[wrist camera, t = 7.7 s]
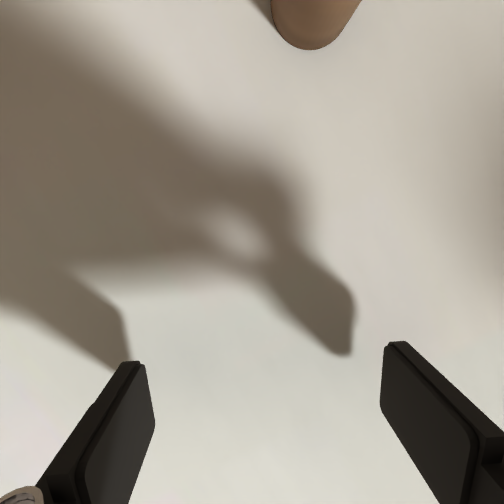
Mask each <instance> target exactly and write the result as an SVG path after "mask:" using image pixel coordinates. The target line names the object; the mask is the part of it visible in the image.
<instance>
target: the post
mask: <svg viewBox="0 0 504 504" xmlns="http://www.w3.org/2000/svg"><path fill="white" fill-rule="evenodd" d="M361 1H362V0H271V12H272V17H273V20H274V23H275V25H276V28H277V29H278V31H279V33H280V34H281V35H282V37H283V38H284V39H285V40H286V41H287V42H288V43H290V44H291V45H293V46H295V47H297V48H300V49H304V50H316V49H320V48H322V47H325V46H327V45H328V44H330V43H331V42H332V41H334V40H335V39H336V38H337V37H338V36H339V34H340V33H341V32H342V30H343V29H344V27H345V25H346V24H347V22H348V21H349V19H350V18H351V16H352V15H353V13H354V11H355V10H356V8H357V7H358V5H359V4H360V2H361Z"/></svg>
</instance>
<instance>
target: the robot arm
mask: <svg viewBox="0 0 504 504" xmlns="http://www.w3.org/2000/svg"><path fill="white" fill-rule="evenodd" d="M380 407H381V410H382V413H383V414H384V416H385V418H386V419H387V421H388V422H389V424H390V426H391V427H392V429H393V430H394V432H395V434H396V435H397V437H398V438H399V440H400V442H401V443H402V445H403V446H404V448H405V449H406V451H407V453H408V454H409V456H410V457H411V459H412V461H413V462H414V464H415V465H416V467H417V469H418V470H419V472H420V473H421V475H422V476H423V478H424V480H425V481H426V483H427V484H428V486H429V488H430V489H431V491H432V492H433V494H434V496H435V497H436V499H437V500H438V502H439V503H440V504H504V432H503V431H502V430H501V429H500V428H499V427H498V426H497V425H496V424H495V423H494V422H492V421H491V420H490V419H489V418H488V417H487V416H486V415H485V414H484V413H483V412H482V411H481V410H480V409H478V408H477V407H476V406H475V405H474V404H473V403H472V402H471V401H470V400H469V399H468V398H467V397H466V396H464V395H463V394H462V393H461V392H460V391H459V390H458V389H457V388H456V387H455V386H454V385H453V384H452V383H450V382H449V381H448V380H447V379H446V378H445V377H444V376H443V375H442V374H441V373H440V372H439V371H438V370H436V369H435V368H434V367H433V366H432V365H431V364H430V363H429V362H428V361H427V360H426V359H425V358H424V357H422V356H421V355H420V354H419V353H418V352H417V351H416V350H415V349H414V348H413V347H412V346H411V345H410V344H408V343H407V342H406V341H396V342H389V343H388V346H385V348H384V355H383V367H382V379H381V392H380ZM154 428H155V418H154V413H153V407H152V402H151V396H150V391H149V385H148V380H147V374H146V369H145V365H143V364H140V362H139V361H127V362H122V363H121V364H120V366H119V367H118V369H117V370H116V372H115V373H114V375H113V376H112V377H111V379H110V380H109V382H108V383H107V385H106V386H105V388H104V389H103V391H102V392H101V394H100V395H99V397H98V398H97V399H96V401H95V402H94V403H93V404H92V405H91V406H90V407H89V409H88V410H87V411H86V413H85V414H84V416H83V417H82V419H81V420H80V422H79V423H78V424H77V426H76V427H75V429H74V430H73V432H72V433H71V435H70V436H69V437H68V439H67V440H66V442H65V443H64V445H63V446H62V448H61V449H60V450H59V452H58V453H57V455H56V456H55V458H54V459H53V461H52V462H51V464H50V465H49V466H48V468H47V469H46V471H45V472H44V474H43V475H42V477H41V478H40V479H39V481H38V482H37V484H36V485H35V486H25V487H22V488H18V489H15V490H13V491H11V492H10V493H8V494H6V495H4V496H2V497H1V498H0V504H128V503H129V500H130V497H131V494H132V491H133V489H134V486H135V483H136V480H137V477H138V475H139V472H140V469H141V466H142V463H143V461H144V458H145V455H146V452H147V449H148V447H149V444H150V441H151V438H152V435H153V432H154Z"/></svg>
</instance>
